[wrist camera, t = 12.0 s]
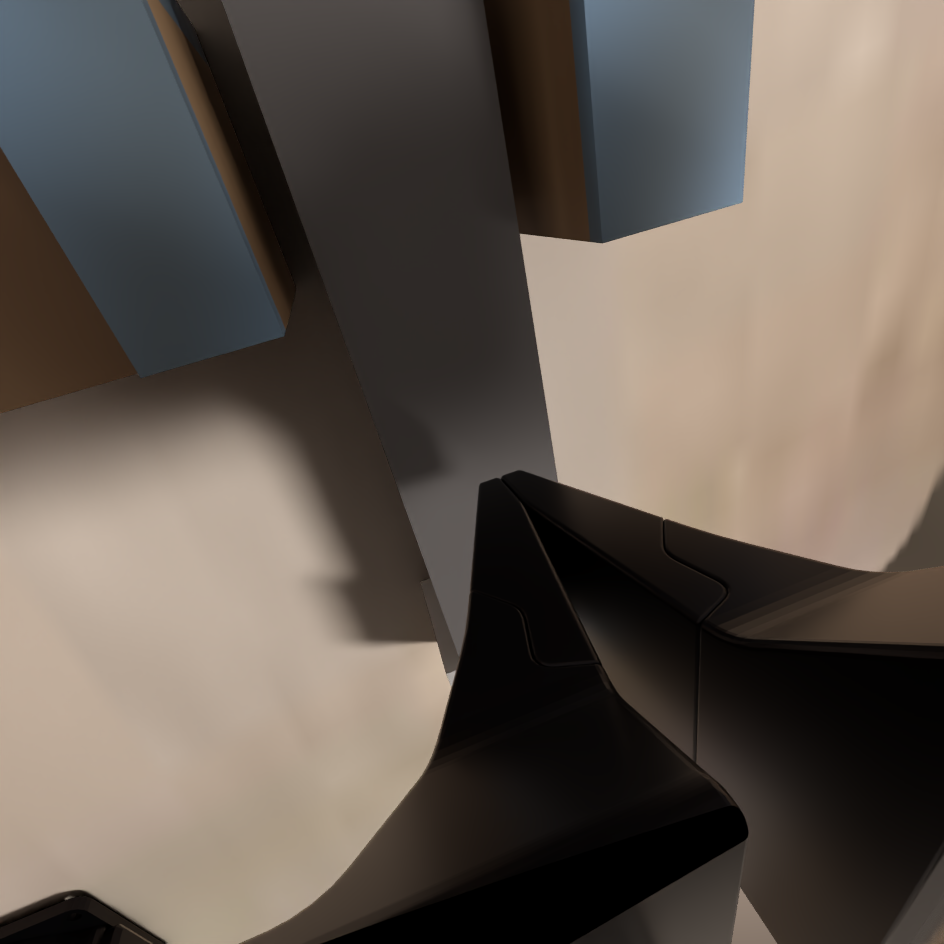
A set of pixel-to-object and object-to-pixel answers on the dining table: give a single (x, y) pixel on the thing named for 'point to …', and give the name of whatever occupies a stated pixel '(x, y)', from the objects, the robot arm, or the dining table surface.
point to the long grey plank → (412, 248)
